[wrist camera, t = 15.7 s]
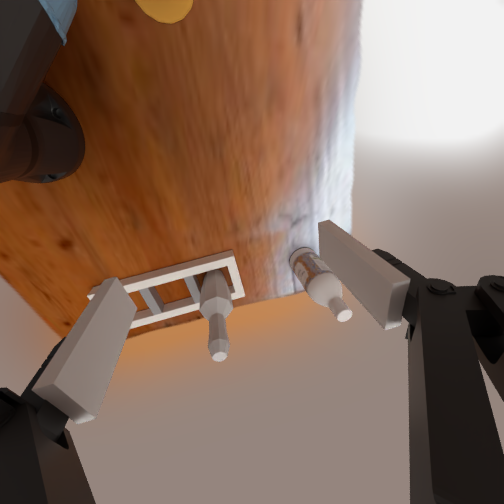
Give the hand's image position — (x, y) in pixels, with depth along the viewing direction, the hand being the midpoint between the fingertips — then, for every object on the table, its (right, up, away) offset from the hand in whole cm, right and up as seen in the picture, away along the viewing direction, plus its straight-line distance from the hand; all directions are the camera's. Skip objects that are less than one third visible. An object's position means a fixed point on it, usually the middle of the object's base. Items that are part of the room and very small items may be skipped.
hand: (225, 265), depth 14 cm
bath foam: (+14, -1, +42) cm, 44 cm away
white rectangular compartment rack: (-17, -8, +39) cm, 43 cm away
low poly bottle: (-7, -5, +40) cm, 41 cm away
